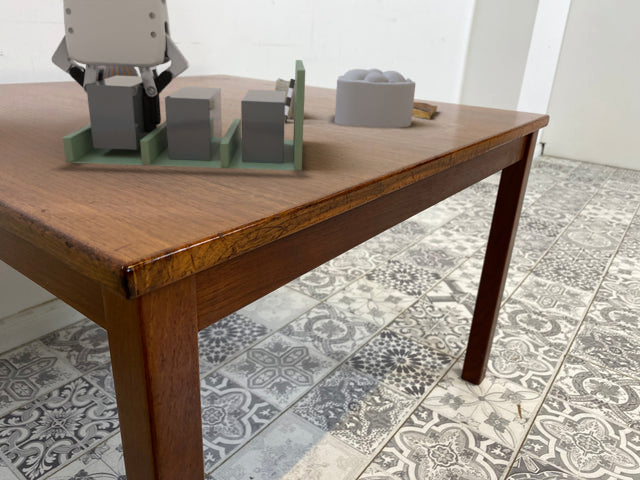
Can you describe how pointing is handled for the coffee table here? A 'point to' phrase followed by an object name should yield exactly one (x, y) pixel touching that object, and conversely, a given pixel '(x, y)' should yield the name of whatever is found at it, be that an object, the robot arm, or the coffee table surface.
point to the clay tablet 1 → (193, 123)
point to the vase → (119, 71)
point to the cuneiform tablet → (287, 96)
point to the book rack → (226, 156)
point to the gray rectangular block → (117, 112)
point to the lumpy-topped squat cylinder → (374, 99)
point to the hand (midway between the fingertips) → (127, 128)
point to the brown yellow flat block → (423, 110)
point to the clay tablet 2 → (263, 126)
